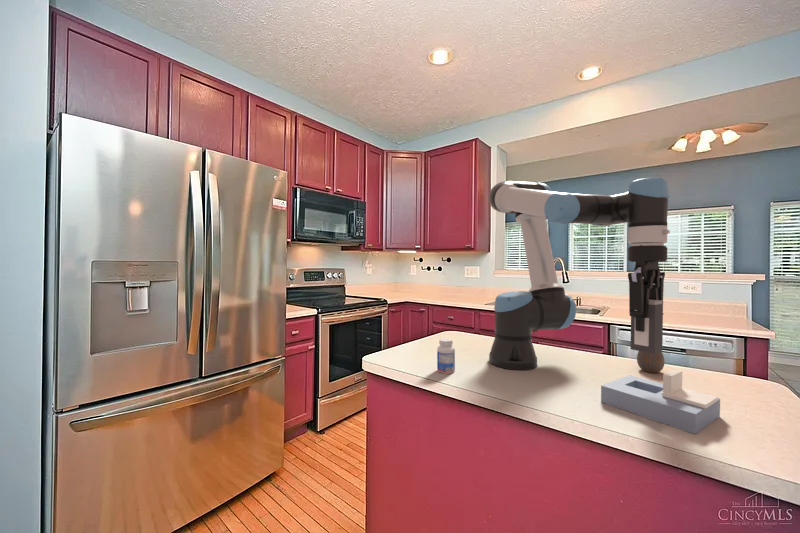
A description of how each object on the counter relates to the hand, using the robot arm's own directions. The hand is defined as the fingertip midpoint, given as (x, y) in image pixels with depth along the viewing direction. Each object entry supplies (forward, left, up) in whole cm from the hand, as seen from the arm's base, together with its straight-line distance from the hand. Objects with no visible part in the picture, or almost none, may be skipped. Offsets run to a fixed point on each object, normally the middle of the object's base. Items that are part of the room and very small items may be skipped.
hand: (646, 343), depth 81 cm
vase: (-10, +28, -15) cm, 33 cm away
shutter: (+8, 0, -10) cm, 13 cm away
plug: (0, 0, -2) cm, 2 cm away
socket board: (+3, -1, -14) cm, 15 cm away
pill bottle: (-44, -25, -15) cm, 52 cm away
